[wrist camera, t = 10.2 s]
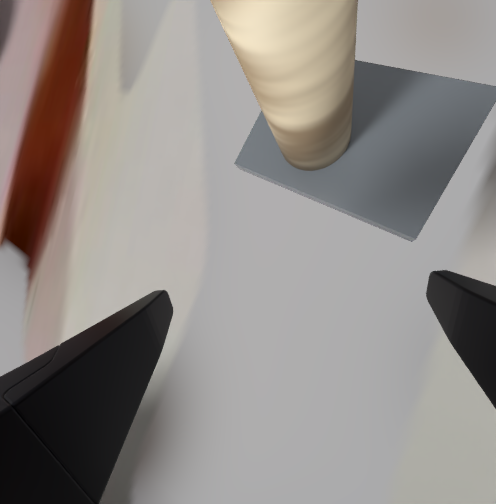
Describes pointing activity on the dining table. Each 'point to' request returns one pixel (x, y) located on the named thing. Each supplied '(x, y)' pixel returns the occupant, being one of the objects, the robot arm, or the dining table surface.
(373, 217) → the slate board
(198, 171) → the dining table surface
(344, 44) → the pepper mill
